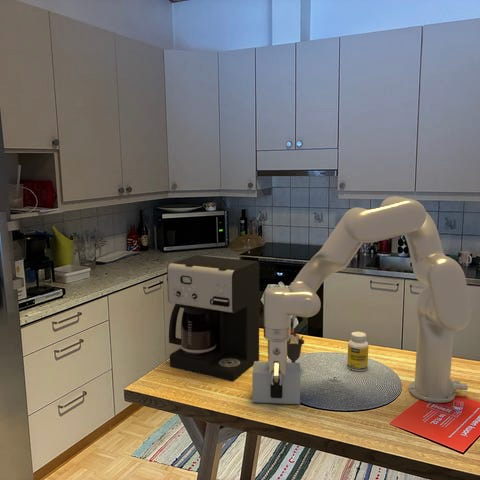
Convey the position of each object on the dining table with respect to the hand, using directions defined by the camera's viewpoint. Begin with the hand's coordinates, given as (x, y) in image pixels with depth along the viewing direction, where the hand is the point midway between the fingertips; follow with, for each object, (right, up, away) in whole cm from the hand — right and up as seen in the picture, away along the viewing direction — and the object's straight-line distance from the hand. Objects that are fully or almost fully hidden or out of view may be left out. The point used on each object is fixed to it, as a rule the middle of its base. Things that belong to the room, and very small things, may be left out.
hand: (276, 390), depth 138 cm
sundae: (+7, 0, +19) cm, 20 cm away
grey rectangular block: (0, -2, 0) cm, 2 cm away
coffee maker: (-21, +1, +25) cm, 33 cm away
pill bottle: (+28, +1, +20) cm, 35 cm away
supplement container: (+6, +4, +39) cm, 39 cm away
